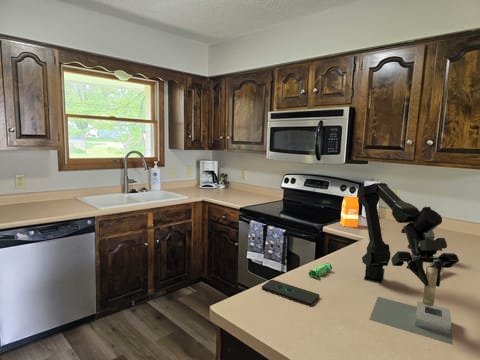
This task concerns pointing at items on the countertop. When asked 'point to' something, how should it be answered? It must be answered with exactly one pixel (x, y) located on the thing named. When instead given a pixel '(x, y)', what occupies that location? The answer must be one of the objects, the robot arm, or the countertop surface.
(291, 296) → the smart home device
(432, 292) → the pin
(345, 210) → the orange juice
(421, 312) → the square peg hole block
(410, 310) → the mat
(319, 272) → the candy
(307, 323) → the countertop surface
